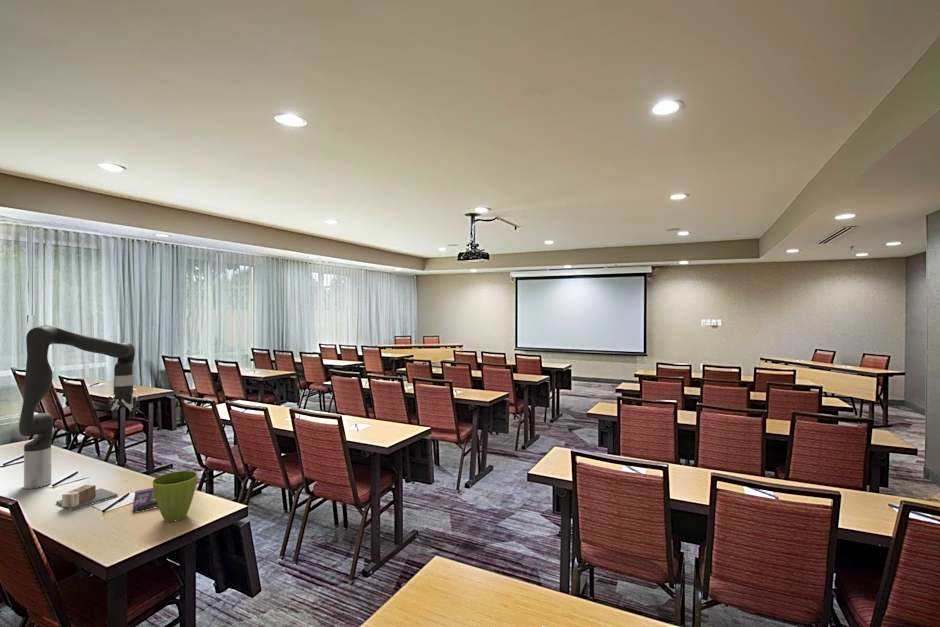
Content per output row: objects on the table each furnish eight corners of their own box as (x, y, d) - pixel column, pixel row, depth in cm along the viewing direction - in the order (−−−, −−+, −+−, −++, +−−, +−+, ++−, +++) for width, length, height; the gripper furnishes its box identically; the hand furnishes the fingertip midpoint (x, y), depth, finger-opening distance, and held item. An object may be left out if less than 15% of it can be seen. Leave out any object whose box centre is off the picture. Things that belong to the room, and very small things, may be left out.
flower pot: (201, 518, 176) (201, 478, 176) (155, 530, 166) (155, 487, 166) (193, 506, 187) (193, 468, 187) (150, 517, 177) (150, 476, 177)
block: (85, 496, 195) (62, 506, 185) (85, 484, 195) (62, 494, 185) (95, 496, 194) (73, 506, 184) (95, 485, 194) (73, 494, 184)
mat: (56, 503, 189) (56, 501, 189) (101, 490, 204) (101, 488, 204) (72, 510, 183) (72, 508, 183) (117, 496, 197) (117, 494, 197)
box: (135, 498, 197) (132, 514, 181) (135, 490, 197) (132, 505, 181) (173, 491, 205) (174, 505, 189) (173, 483, 205) (173, 497, 189)
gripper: (102, 385, 212) (102, 419, 212) (131, 385, 211) (131, 420, 211) (116, 383, 220) (116, 416, 220) (143, 383, 219) (143, 416, 219)
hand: (123, 418), depth 216 cm, fingers open, 8 cm apart
